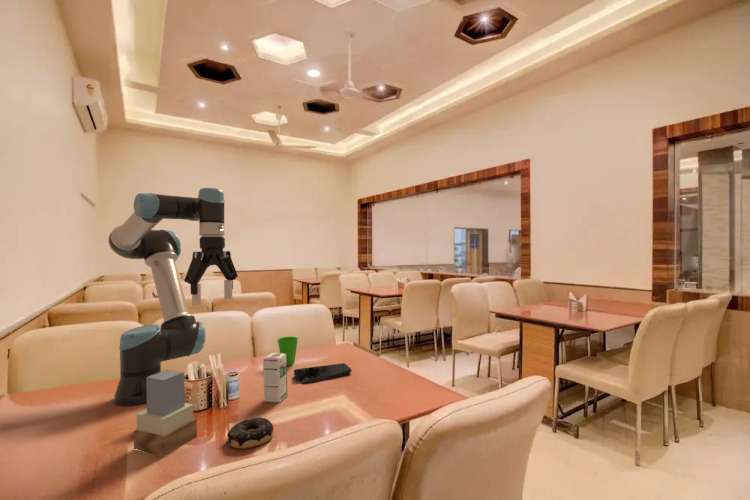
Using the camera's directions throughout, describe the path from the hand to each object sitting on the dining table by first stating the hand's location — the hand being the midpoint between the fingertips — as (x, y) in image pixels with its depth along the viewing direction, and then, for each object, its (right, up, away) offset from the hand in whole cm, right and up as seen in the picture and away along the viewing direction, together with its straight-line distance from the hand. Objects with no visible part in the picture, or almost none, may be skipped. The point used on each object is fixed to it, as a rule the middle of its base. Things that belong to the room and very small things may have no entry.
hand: (213, 302), depth 120 cm
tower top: (-1, -28, -25) cm, 37 cm away
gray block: (-1, -24, -25) cm, 35 cm away
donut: (+20, -33, -23) cm, 45 cm away
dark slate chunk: (+32, -33, +26) cm, 53 cm away
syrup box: (+20, -33, +3) cm, 38 cm away
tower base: (-1, -33, -25) cm, 41 cm away
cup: (+15, -33, +39) cm, 53 cm away
